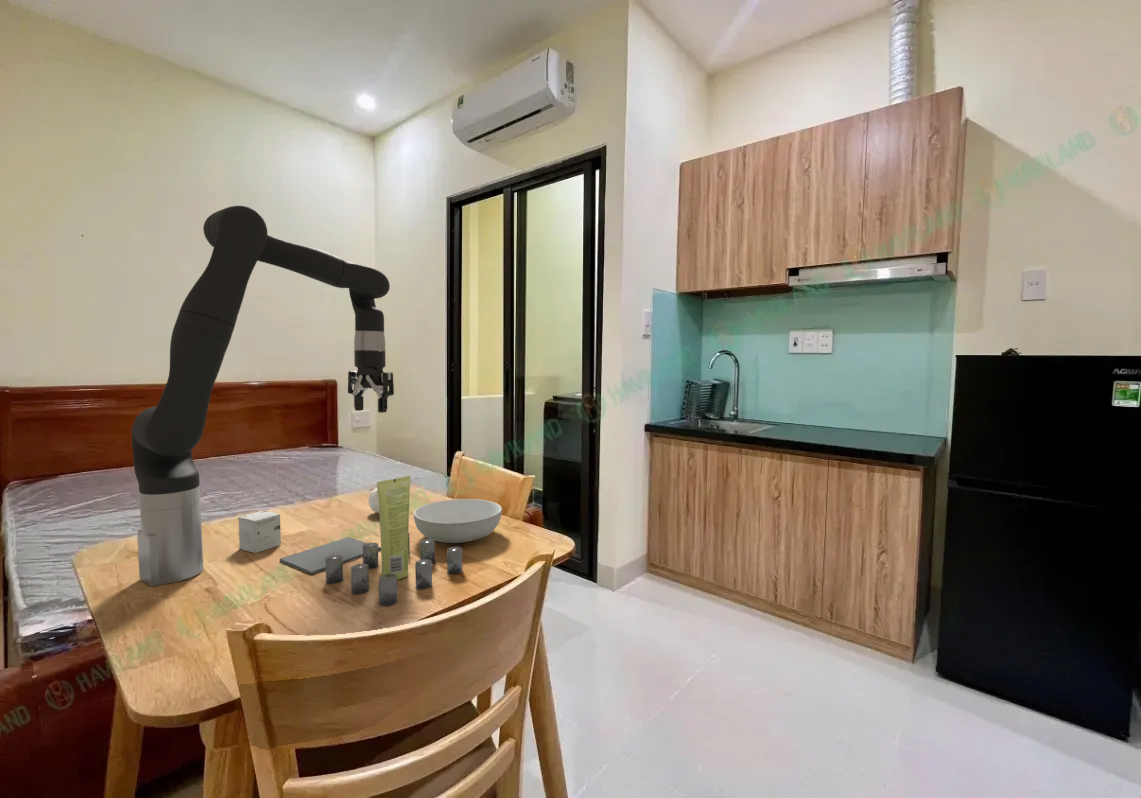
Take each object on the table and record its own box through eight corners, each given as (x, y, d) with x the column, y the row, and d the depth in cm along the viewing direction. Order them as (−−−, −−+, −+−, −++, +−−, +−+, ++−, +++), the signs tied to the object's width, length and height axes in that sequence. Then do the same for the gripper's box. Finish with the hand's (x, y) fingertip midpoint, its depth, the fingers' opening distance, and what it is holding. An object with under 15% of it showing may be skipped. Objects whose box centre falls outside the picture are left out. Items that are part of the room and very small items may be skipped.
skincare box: (255, 553, 111) (253, 520, 110) (238, 549, 114) (237, 516, 113) (281, 545, 116) (280, 513, 116) (265, 540, 119) (264, 509, 119)
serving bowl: (517, 530, 128) (518, 503, 128) (467, 559, 109) (467, 528, 109) (451, 519, 137) (451, 493, 136) (394, 544, 118) (393, 515, 117)
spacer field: (386, 607, 87) (386, 582, 87) (322, 581, 98) (322, 558, 97) (465, 570, 103) (465, 548, 103) (403, 550, 114) (403, 531, 113)
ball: (377, 521, 142) (371, 495, 146) (405, 510, 143) (398, 485, 147) (367, 515, 135) (360, 488, 139) (396, 504, 137) (388, 477, 140)
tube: (386, 569, 103) (384, 475, 102) (411, 569, 104) (410, 474, 102) (378, 582, 97) (376, 481, 96) (405, 581, 98) (404, 481, 97)
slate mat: (312, 574, 100) (311, 571, 100) (279, 561, 107) (279, 558, 107) (381, 549, 114) (381, 547, 114) (348, 539, 120) (348, 536, 120)
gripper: (338, 348, 132) (339, 411, 133) (378, 348, 125) (378, 414, 126) (362, 349, 138) (363, 409, 139) (401, 349, 132) (401, 411, 133)
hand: (370, 411), depth 133 cm, fingers open, 8 cm apart
